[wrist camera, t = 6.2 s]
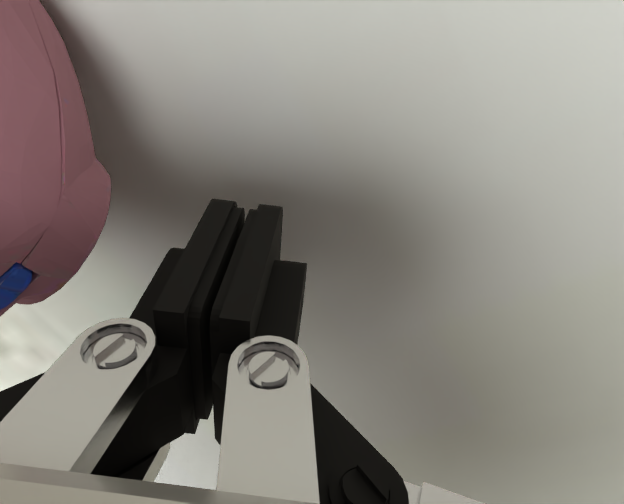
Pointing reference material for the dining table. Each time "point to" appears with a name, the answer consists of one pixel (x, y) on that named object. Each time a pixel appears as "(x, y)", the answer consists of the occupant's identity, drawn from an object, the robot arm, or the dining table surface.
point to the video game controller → (43, 160)
